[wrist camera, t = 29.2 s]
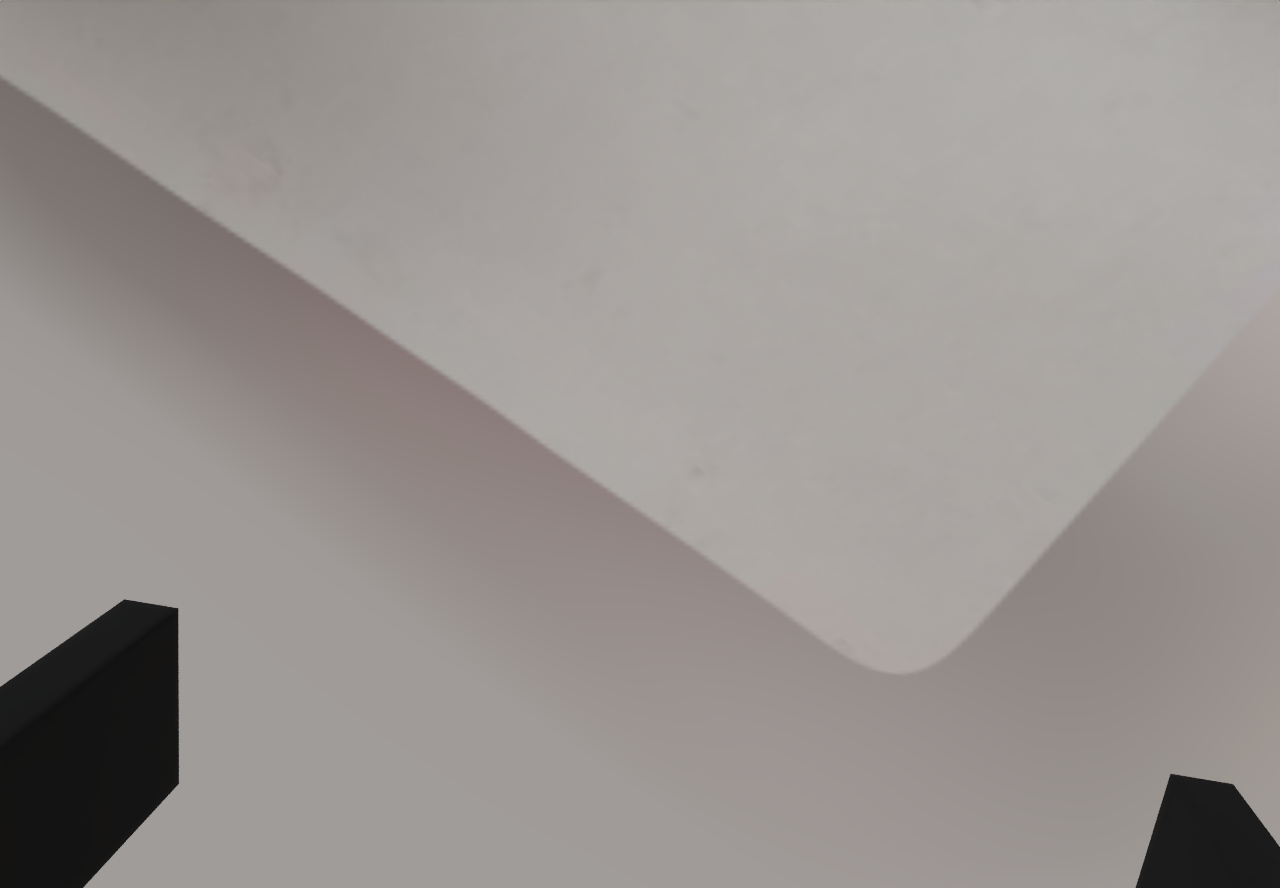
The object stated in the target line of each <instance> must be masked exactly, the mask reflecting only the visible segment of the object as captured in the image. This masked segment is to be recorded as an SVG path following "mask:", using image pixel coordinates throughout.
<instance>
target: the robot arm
mask: <svg viewBox="0 0 1280 888" xmlns="http://www.w3.org/2000/svg"><path fill="white" fill-rule="evenodd" d="M178 701H179V699H178V608H172V607H166V606H160V605H154V604H148V603H142V602H136V601H130V600H123V601H122V602H120V603H119V604H117V605H116V606H115V607H113V608H112V609H111V610H109V611H107V612H106V613H105V614H103V615H102V616H100V617H99V618H97V619H96V620H95V621H93V622H92V623H90V624H89V625H87V626H86V627H85V628H83V629H82V630H80V631H79V632H78V633H76V634H75V635H73V636H72V637H70V638H69V639H68V640H66V641H65V642H64V643H62V644H61V645H59V646H58V647H56V648H55V649H53V650H52V651H51V652H49V653H48V654H46V655H45V656H44V657H42V658H41V659H39V660H38V661H36V662H35V663H34V664H32V665H31V666H29V667H28V668H27V669H25V670H24V671H22V672H21V673H19V674H18V675H16V676H15V677H14V678H12V679H11V680H9V681H8V682H7V683H5V684H4V685H2V686H1V687H0V888H83V887H84V886H85V885H86V884H87V883H88V881H90V879H91V878H92V877H93V876H94V875H95V874H96V873H97V872H98V871H99V870H100V869H101V867H102V866H103V865H104V864H105V863H106V862H107V861H108V860H109V859H110V858H111V857H112V856H113V854H114V853H115V852H116V851H117V850H118V849H119V848H120V847H121V846H122V845H123V844H124V843H125V842H126V840H127V839H128V838H129V837H130V836H131V835H132V834H133V833H134V832H135V831H136V829H137V828H138V827H139V826H140V825H141V824H142V823H143V822H144V821H145V820H146V819H147V818H148V817H149V815H150V814H151V813H152V812H153V811H154V810H155V809H156V808H157V806H159V805H160V804H161V802H162V801H163V800H164V799H165V798H166V797H167V796H168V794H170V793H171V792H172V790H173V789H174V788H175V787H176V786H177V785H178V784H179V730H178V729H179V721H178V720H179V707H178V706H179V705H178V704H179V702H178ZM1136 888H1280V847H1279V846H1278V844H1277V843H1276V841H1275V840H1274V839H1273V837H1272V836H1271V835H1270V833H1269V832H1268V831H1267V829H1266V828H1265V827H1264V825H1263V824H1262V822H1261V821H1260V820H1259V819H1258V817H1257V816H1256V814H1255V813H1254V812H1253V810H1252V809H1251V808H1250V806H1249V805H1248V804H1247V803H1246V801H1245V800H1244V798H1243V797H1242V796H1241V794H1240V793H1239V792H1238V790H1237V789H1236V788H1235V786H1234V785H1233V784H1228V783H1222V782H1216V781H1210V780H1204V779H1197V778H1192V777H1186V776H1180V775H1174V774H1171V775H1170V778H1169V781H1168V784H1167V788H1166V791H1165V795H1164V797H1163V801H1162V804H1161V807H1160V810H1159V814H1158V817H1157V820H1156V823H1155V827H1154V830H1153V834H1152V836H1151V840H1150V843H1149V846H1148V850H1147V853H1146V856H1145V860H1144V863H1143V866H1142V869H1141V872H1140V876H1139V879H1138V882H1137V885H1136Z"/></svg>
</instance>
